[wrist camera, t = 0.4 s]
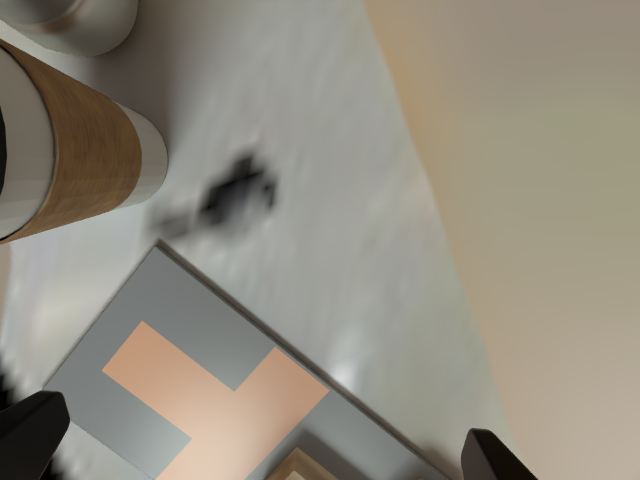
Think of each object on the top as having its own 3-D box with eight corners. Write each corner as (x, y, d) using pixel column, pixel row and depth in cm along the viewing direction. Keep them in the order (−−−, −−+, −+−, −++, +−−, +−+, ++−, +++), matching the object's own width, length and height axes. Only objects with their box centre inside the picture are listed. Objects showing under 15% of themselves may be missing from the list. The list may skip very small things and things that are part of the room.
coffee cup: (36, 103, 21) (-631, -72, 7) (167, 71, 21) (-233, -196, 6) (79, 236, 23) (-391, 342, 8) (204, 210, 22) (-48, 269, 7)
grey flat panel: (355, 621, 27) (356, 627, 27) (42, 392, 25) (37, 396, 24) (484, 507, 25) (486, 512, 25) (157, 245, 23) (154, 246, 22)
